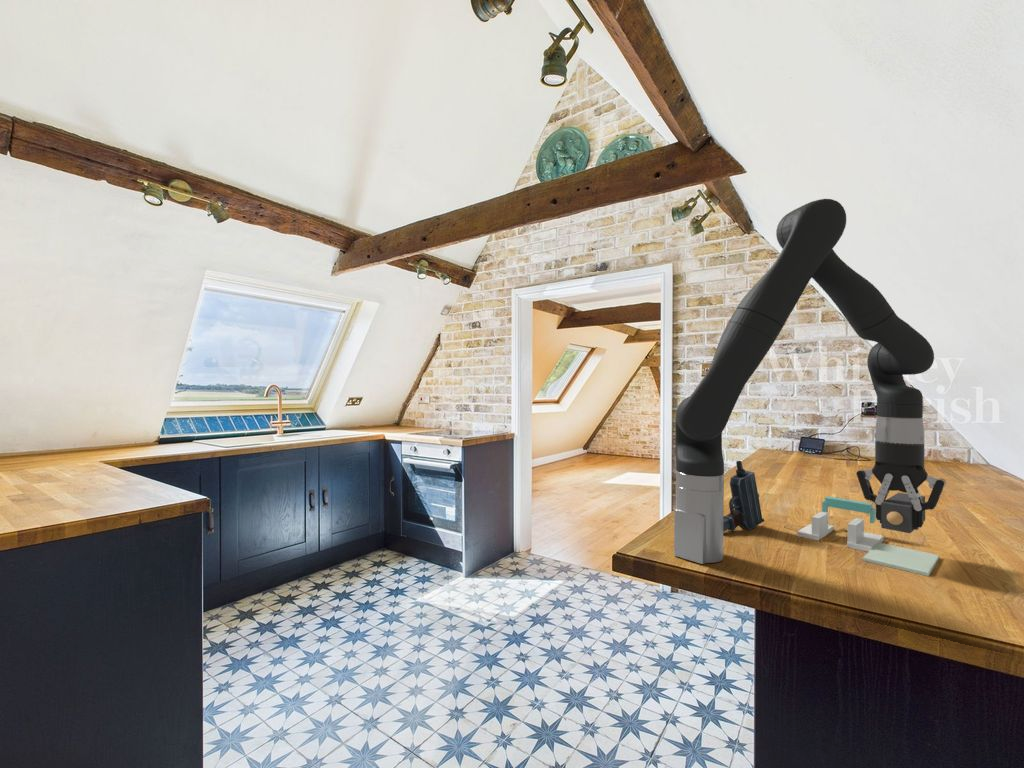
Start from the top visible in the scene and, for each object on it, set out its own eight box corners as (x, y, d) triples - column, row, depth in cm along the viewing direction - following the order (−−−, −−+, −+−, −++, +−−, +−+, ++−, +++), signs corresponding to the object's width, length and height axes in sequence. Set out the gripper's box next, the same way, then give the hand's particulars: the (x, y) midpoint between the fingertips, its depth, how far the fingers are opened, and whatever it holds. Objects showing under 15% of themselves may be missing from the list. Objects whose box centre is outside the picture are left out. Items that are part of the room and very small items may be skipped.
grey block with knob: (909, 534, 88) (909, 507, 88) (880, 528, 91) (880, 503, 91) (926, 519, 98) (925, 495, 98) (899, 515, 101) (899, 492, 101)
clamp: (871, 552, 99) (871, 529, 99) (797, 535, 109) (797, 514, 109) (883, 540, 107) (883, 518, 107) (813, 525, 117) (813, 506, 117)
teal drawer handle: (873, 523, 108) (873, 505, 108) (822, 513, 115) (822, 497, 115) (875, 521, 109) (875, 504, 109) (825, 512, 117) (825, 495, 117)
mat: (928, 576, 87) (928, 573, 87) (862, 560, 94) (862, 557, 94) (939, 558, 96) (939, 555, 96) (878, 545, 103) (878, 542, 103)
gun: (702, 475, 110) (744, 455, 116) (715, 541, 112) (755, 518, 118) (712, 478, 107) (753, 457, 114) (724, 545, 109) (764, 520, 116)
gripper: (950, 441, 89) (950, 530, 89) (860, 435, 100) (859, 514, 100) (945, 445, 84) (945, 539, 84) (850, 438, 95) (850, 521, 95)
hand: (898, 525), depth 92 cm, fingers closed on grey block with knob, 4 cm apart
